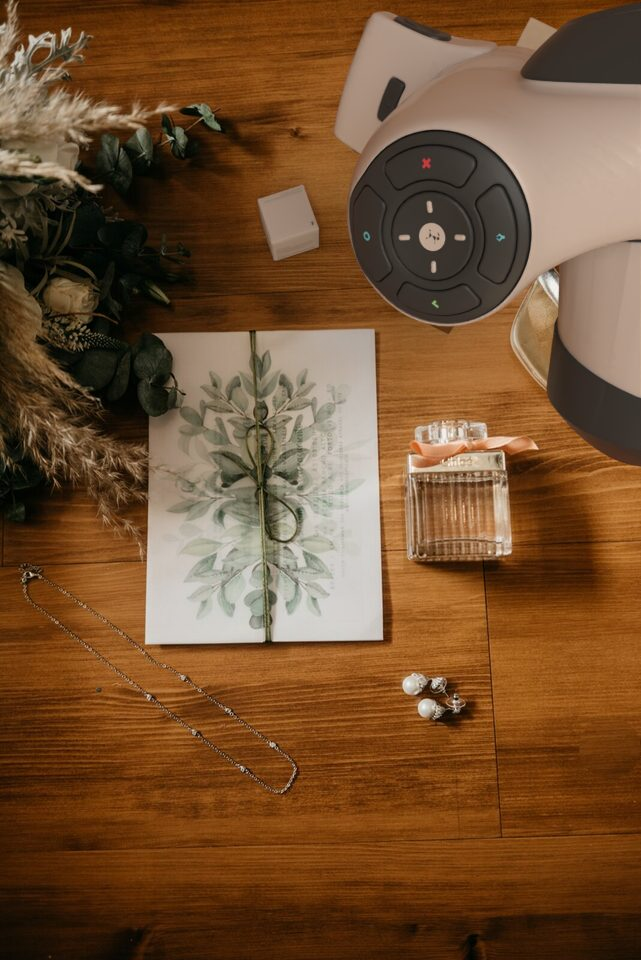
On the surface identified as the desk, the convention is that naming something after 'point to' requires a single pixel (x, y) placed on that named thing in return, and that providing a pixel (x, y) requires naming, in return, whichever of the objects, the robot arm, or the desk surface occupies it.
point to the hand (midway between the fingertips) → (523, 103)
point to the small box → (289, 222)
